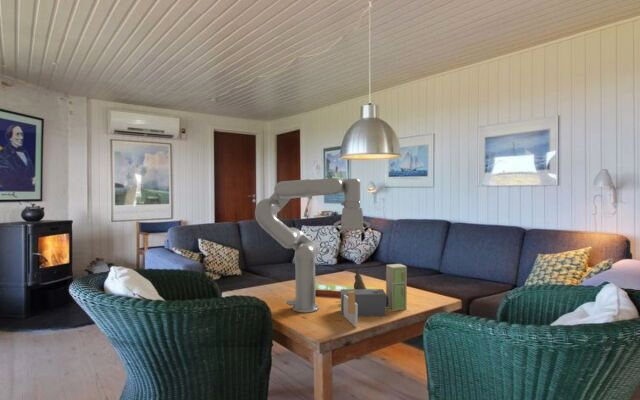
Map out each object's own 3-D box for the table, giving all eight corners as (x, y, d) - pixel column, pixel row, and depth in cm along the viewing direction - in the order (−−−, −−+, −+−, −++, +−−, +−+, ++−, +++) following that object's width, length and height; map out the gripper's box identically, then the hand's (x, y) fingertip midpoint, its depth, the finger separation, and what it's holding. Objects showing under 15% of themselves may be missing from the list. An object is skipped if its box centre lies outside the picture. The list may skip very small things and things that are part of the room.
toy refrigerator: (392, 311, 189) (392, 267, 188) (385, 307, 196) (385, 264, 195) (407, 310, 191) (407, 266, 190) (400, 305, 198) (400, 263, 198)
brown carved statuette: (352, 305, 208) (347, 270, 210) (360, 303, 211) (355, 268, 213) (366, 306, 198) (361, 269, 200) (375, 304, 201) (369, 268, 203)
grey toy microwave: (342, 316, 182) (342, 293, 182) (340, 310, 191) (341, 288, 191) (389, 316, 183) (389, 293, 182) (385, 309, 192) (385, 287, 191)
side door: (338, 316, 181) (338, 284, 180) (345, 315, 182) (345, 283, 181) (349, 327, 166) (350, 292, 166) (357, 326, 167) (357, 292, 167)
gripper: (334, 205, 184) (334, 242, 184) (371, 205, 184) (371, 242, 185) (333, 204, 191) (333, 240, 192) (369, 204, 191) (369, 240, 192)
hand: (352, 241), depth 188 cm, fingers open, 9 cm apart
